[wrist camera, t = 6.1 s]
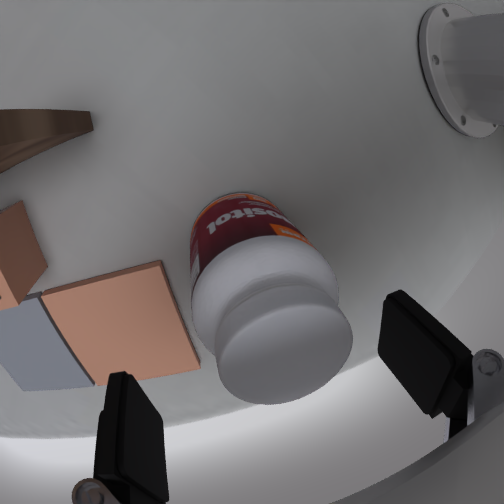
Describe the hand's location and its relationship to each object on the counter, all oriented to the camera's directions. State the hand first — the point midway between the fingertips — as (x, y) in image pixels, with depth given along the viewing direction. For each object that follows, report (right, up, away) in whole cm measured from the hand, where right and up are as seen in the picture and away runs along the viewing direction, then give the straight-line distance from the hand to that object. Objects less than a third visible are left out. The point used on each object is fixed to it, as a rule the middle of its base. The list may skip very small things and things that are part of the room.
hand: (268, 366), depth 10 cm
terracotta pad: (-10, -2, +10) cm, 15 cm away
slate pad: (-20, -4, +9) cm, 22 cm away
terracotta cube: (-18, +5, +6) cm, 19 cm away
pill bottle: (-2, +5, +9) cm, 11 cm away
